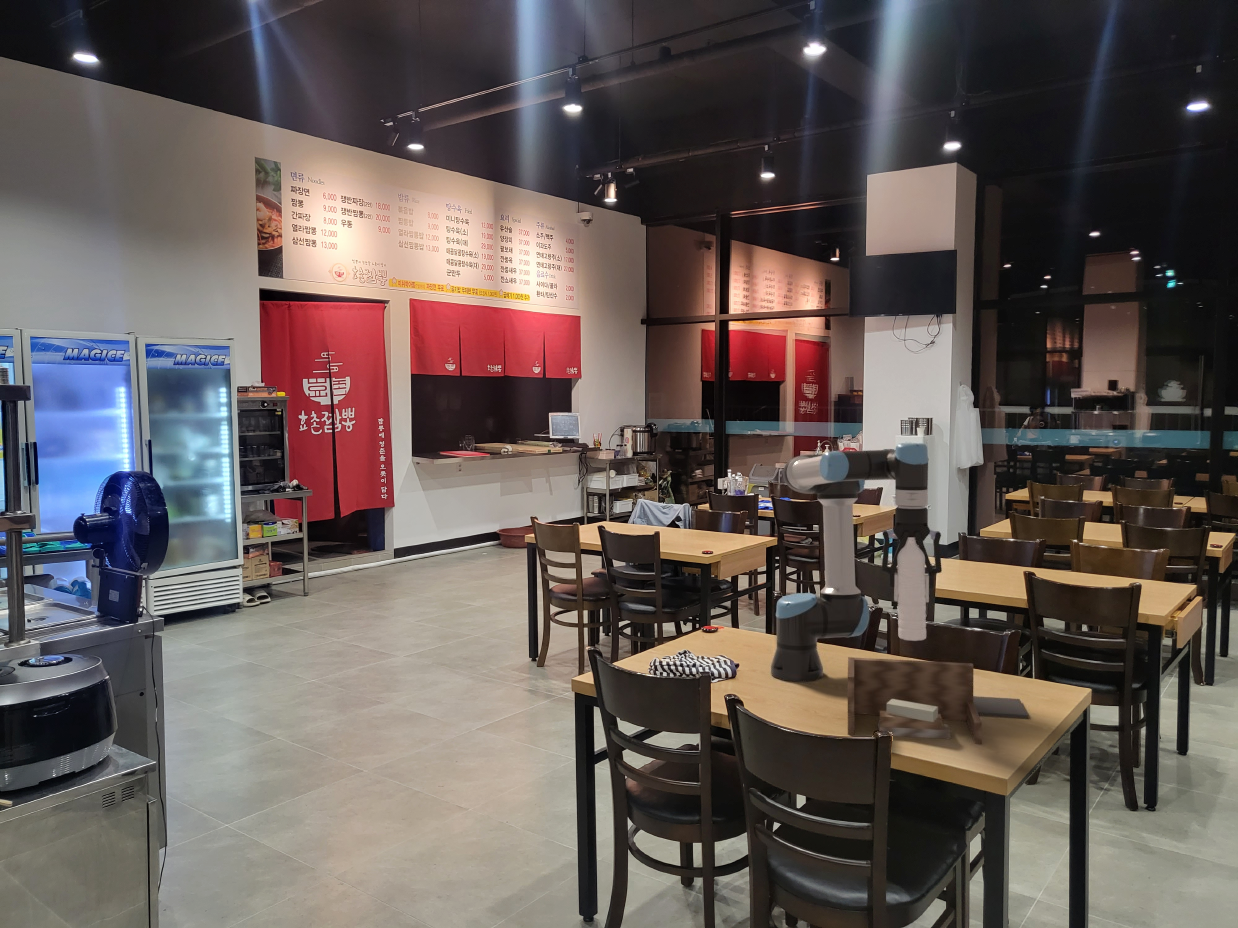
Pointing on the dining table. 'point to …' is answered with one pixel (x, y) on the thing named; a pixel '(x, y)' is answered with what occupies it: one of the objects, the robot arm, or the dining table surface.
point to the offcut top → (912, 710)
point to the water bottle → (911, 591)
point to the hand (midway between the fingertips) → (911, 600)
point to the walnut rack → (912, 688)
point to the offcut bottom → (918, 732)
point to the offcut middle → (908, 722)
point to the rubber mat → (1000, 707)
